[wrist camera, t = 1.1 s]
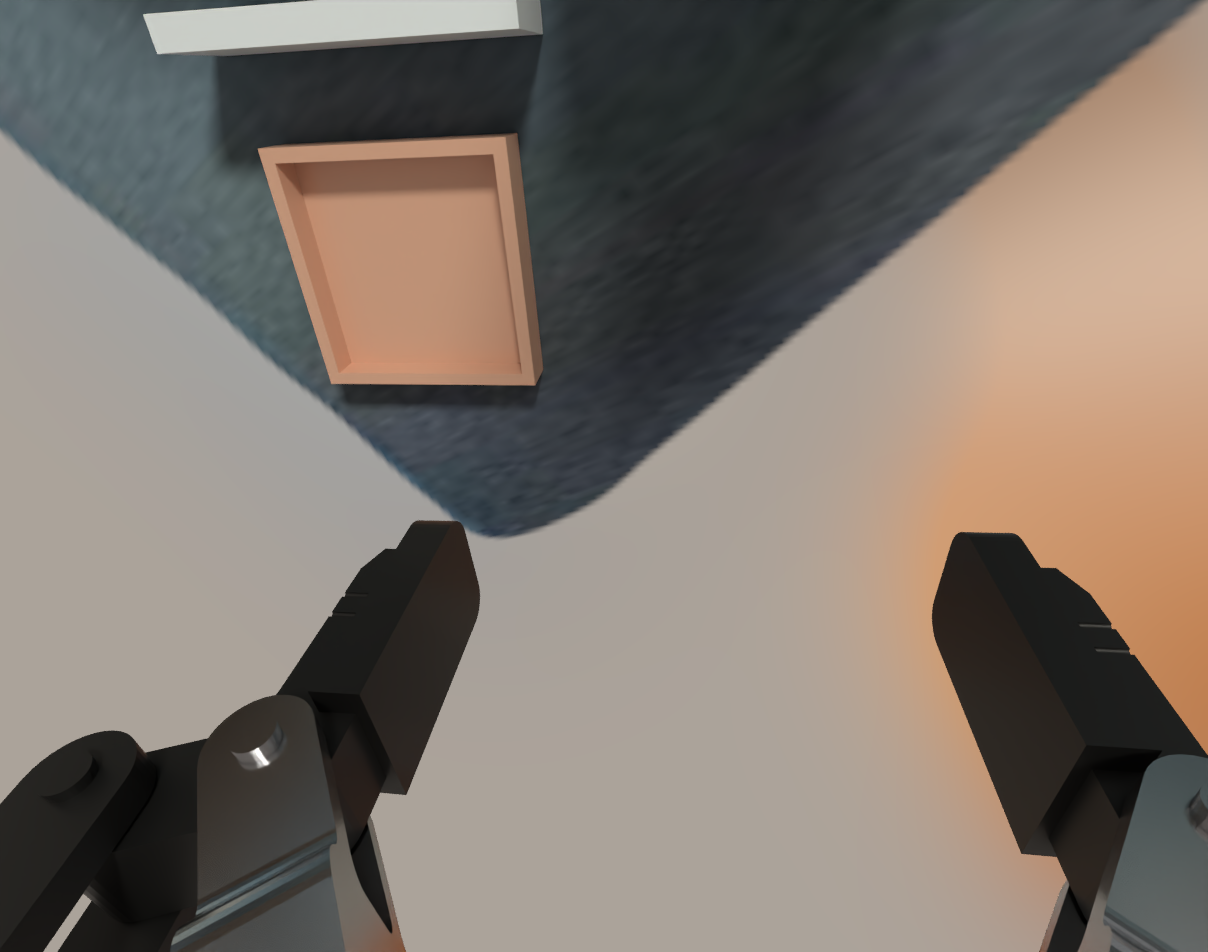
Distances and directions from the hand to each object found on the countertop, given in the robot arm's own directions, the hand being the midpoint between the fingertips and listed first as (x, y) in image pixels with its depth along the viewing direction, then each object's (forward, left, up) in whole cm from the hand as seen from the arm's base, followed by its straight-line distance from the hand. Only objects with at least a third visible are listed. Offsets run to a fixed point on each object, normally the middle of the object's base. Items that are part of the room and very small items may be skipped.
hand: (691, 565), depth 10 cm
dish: (0, -13, -22) cm, 26 cm away
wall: (-9, -13, -22) cm, 27 cm away
